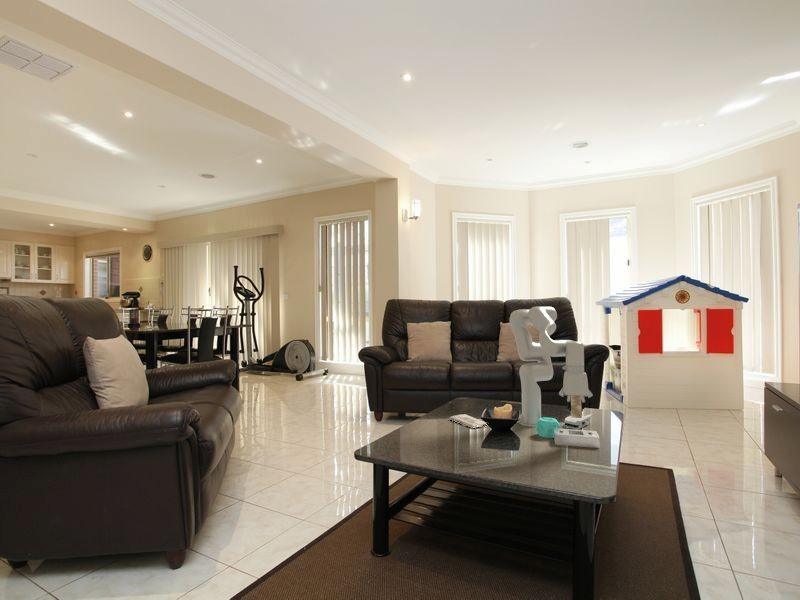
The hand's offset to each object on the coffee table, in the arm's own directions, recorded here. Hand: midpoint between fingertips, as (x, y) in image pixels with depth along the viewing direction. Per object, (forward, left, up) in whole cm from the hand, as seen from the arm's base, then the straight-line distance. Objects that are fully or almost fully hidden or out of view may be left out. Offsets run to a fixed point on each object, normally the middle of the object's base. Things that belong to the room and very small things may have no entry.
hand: (575, 410), depth 196 cm
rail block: (0, 0, -15) cm, 15 cm away
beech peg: (0, 0, -3) cm, 3 cm away
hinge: (+8, +30, -13) cm, 33 cm away
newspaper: (-51, +21, -16) cm, 57 cm away
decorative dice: (-12, +9, -15) cm, 21 cm away
